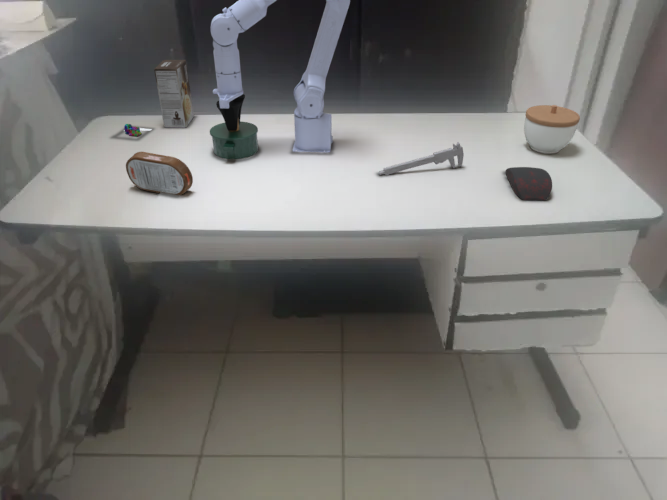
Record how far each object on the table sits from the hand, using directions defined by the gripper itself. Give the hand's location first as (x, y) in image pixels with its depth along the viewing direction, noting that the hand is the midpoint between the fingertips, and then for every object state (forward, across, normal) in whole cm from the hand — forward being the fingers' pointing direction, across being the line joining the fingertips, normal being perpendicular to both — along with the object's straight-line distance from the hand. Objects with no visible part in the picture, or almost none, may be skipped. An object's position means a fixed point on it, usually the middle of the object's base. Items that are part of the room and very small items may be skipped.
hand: (233, 127), depth 133 cm
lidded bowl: (+6, -7, +78) cm, 79 cm away
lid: (+1, 0, 0) cm, 1 cm away
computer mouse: (+6, +15, +68) cm, 70 cm away
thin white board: (+7, -11, -30) cm, 33 cm away
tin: (+7, +22, -12) cm, 26 cm away
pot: (+6, 0, 0) cm, 6 cm away
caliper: (+6, +8, +45) cm, 46 cm away
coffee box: (+7, -20, -20) cm, 29 cm away
